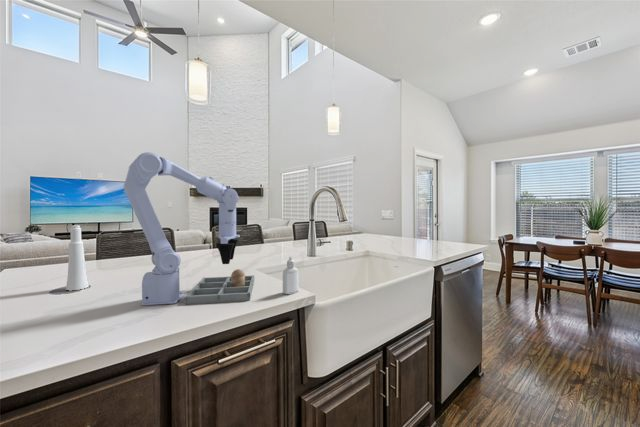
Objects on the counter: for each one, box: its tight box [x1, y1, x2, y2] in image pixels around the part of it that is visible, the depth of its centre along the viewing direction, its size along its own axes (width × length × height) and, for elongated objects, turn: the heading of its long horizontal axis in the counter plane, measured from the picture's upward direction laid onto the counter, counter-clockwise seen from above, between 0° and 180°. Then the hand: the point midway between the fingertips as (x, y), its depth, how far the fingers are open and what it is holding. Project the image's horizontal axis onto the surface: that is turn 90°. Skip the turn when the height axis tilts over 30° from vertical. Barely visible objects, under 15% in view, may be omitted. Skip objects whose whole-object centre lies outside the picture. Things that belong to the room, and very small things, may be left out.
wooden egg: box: [230, 268, 246, 287], centre depth 93 cm, size 4×4×7 cm
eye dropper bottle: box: [282, 256, 299, 295], centre depth 91 cm, size 4×6×12 cm
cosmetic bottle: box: [65, 224, 89, 292], centre depth 95 cm, size 6×6×22 cm
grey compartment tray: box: [185, 275, 255, 305], centre depth 92 cm, size 18×21×2 cm
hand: (227, 261), depth 95 cm, fingers open, 7 cm apart
